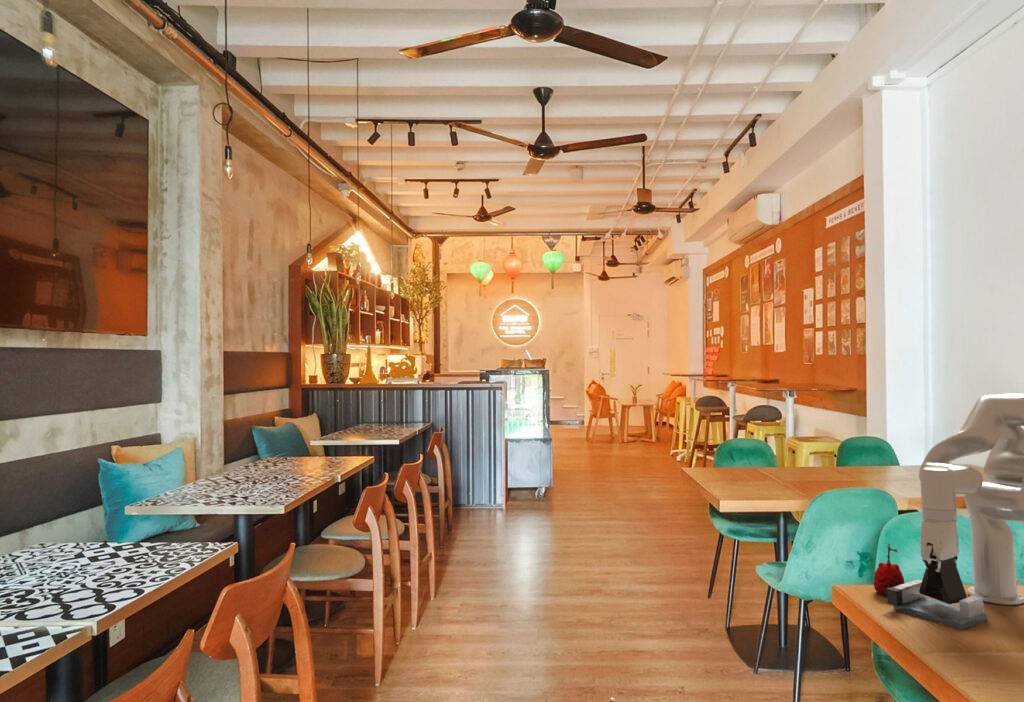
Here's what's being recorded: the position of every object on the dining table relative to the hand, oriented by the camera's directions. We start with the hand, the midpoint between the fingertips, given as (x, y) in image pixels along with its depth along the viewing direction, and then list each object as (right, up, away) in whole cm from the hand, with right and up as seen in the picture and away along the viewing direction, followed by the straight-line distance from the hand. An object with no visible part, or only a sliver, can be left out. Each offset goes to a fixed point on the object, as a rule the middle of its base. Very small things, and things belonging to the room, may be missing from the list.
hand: (942, 583), depth 166 cm
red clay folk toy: (-5, -9, +14) cm, 18 cm away
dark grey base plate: (-2, -8, -1) cm, 8 cm away
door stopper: (0, -4, 0) cm, 4 cm away
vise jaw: (-6, -6, +5) cm, 10 cm away
